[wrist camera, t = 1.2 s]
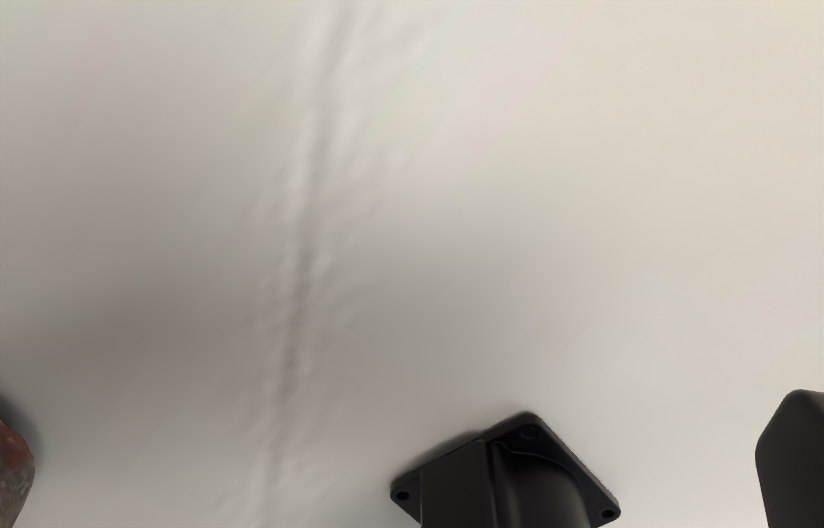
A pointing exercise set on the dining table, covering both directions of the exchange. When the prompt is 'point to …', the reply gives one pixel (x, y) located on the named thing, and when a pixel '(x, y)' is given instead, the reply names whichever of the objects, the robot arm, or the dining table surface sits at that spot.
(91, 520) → the dining table surface
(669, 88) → the dining table surface
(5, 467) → the candle
